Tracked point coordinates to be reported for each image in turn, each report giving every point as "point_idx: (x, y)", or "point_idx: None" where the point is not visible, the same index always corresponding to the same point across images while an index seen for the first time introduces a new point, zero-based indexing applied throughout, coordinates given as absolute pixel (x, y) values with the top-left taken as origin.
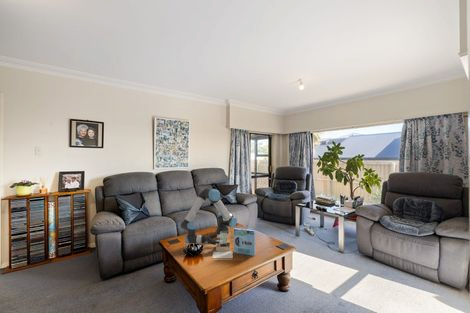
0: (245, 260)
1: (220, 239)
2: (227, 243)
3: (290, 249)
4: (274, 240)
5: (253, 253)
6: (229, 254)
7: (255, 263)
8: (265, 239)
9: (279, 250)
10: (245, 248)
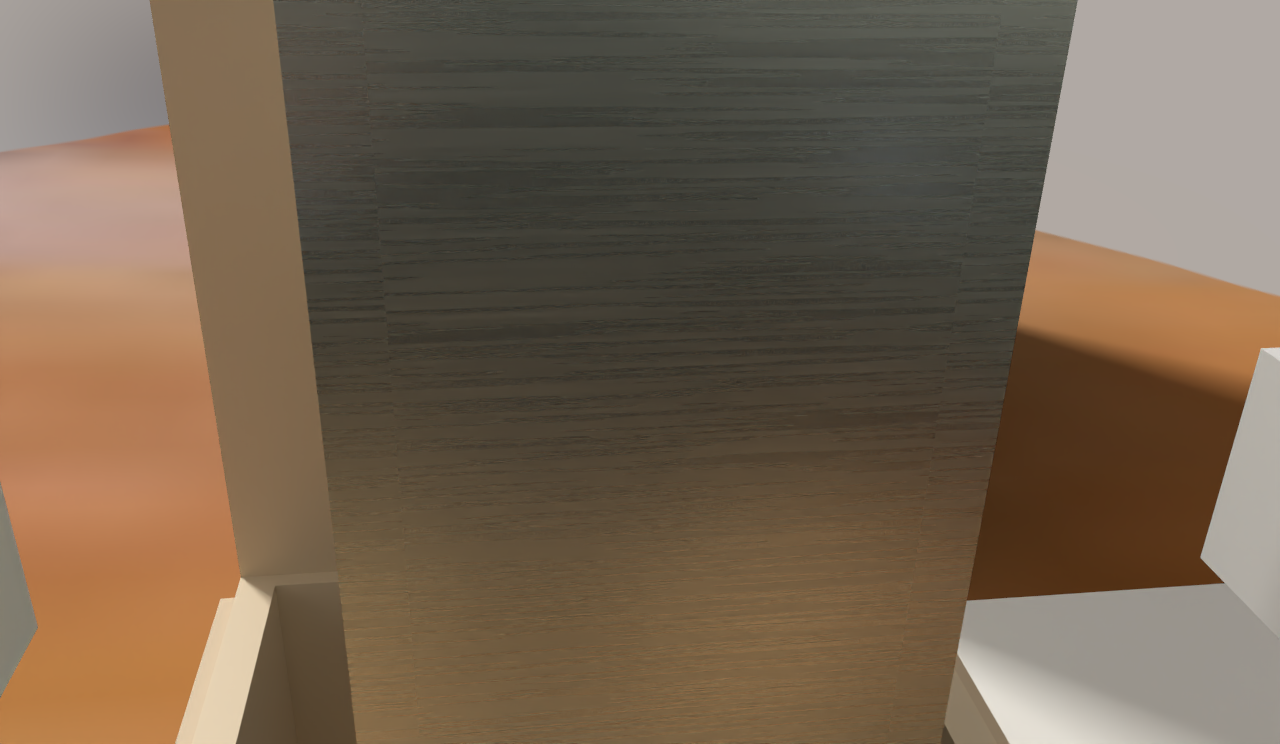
0: (1218, 386)
1: (948, 585)
2: (265, 733)
3: None
4: (146, 135)
5: None
6: (1209, 677)
7: (1217, 288)
8: (33, 186)
9: None
10: None
